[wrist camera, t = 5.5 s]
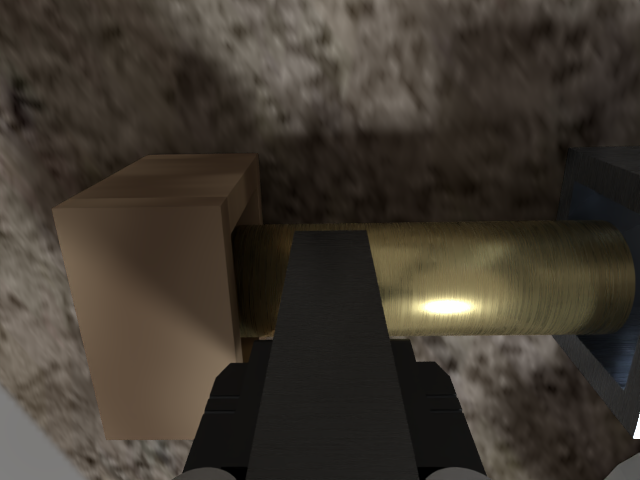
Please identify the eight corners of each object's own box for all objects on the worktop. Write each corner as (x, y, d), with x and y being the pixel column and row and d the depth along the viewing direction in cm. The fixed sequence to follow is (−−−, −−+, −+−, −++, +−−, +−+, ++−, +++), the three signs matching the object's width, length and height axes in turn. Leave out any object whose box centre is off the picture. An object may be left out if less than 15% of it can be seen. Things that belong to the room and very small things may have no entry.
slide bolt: (583, 194, 16) (1115, 486, 5) (562, 309, 18) (933, 717, 7) (198, 199, 16) (-60, 487, 5) (212, 312, 18) (32, 707, 7)
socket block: (258, 152, 17) (220, 206, 11) (269, 322, 20) (244, 439, 14) (147, 154, 17) (51, 208, 11) (173, 323, 20) (105, 439, 14)
